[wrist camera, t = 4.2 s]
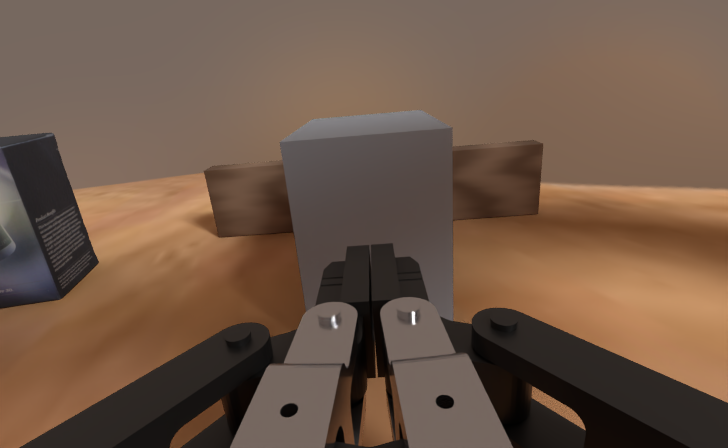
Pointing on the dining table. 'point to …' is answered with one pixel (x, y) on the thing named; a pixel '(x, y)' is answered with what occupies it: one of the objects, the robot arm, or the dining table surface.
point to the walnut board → (470, 188)
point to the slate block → (373, 195)
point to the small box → (38, 224)
